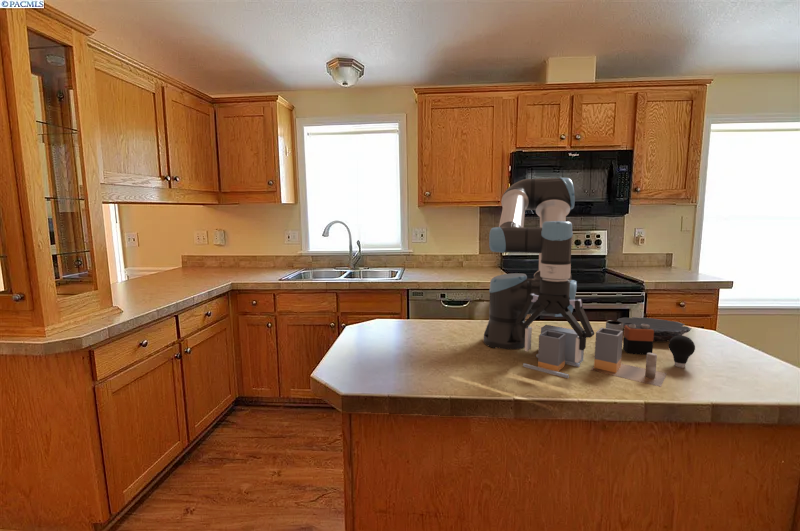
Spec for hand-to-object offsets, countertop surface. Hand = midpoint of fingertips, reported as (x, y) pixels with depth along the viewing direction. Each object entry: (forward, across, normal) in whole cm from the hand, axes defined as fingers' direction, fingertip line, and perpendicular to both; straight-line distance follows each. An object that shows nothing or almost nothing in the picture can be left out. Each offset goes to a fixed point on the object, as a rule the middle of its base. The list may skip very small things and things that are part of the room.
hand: (551, 355), depth 107 cm
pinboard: (+5, +17, +9) cm, 20 cm away
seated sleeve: (+3, +12, +9) cm, 15 cm away
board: (+5, +16, +53) cm, 56 cm away
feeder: (+5, 0, +3) cm, 6 cm away
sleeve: (+4, 0, 0) cm, 4 cm away
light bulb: (+5, +27, +22) cm, 35 cm away
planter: (+5, +10, +24) cm, 27 cm away
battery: (+5, +16, +27) cm, 32 cm away
